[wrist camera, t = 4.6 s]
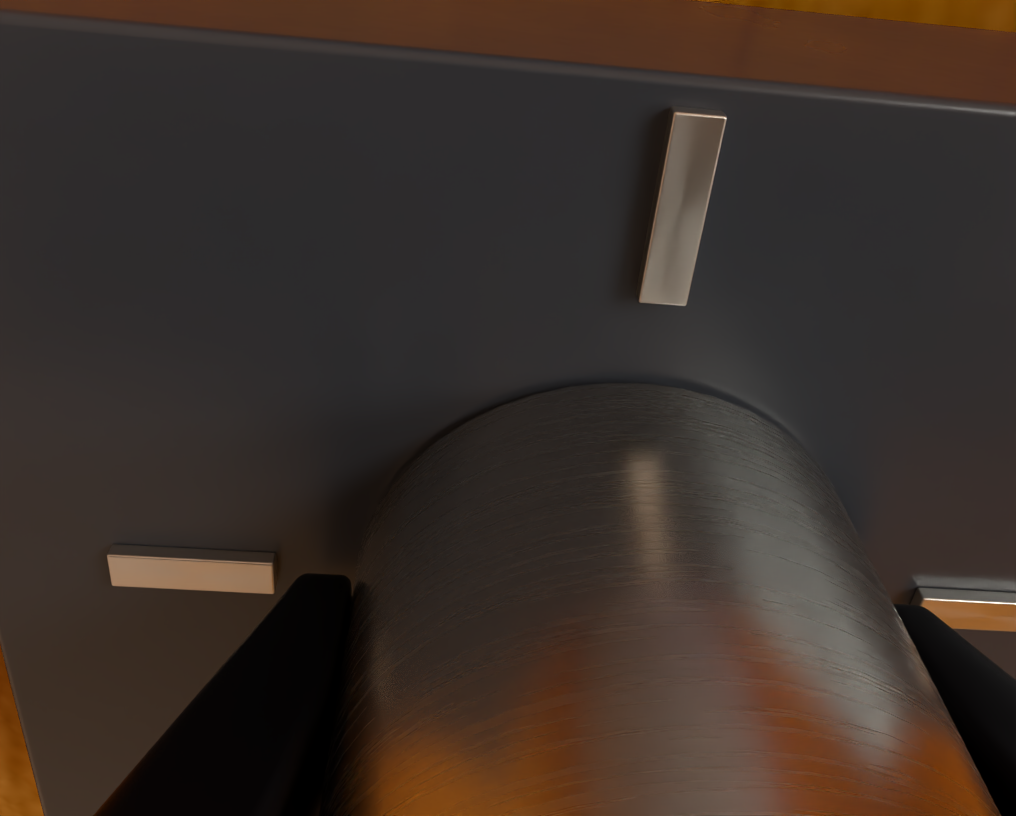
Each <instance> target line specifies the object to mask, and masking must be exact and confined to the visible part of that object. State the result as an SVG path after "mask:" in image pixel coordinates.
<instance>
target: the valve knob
mask: <svg viewBox="0 0 1016 816" xmlns="http://www.w3.org/2000/svg"><path fill="white" fill-rule="evenodd" d="M319 816H1001V814H1000V812H999V810H998V809H997V807H996V805H995V803H994V801H993V799H992V797H991V795H990V793H989V791H988V789H987V787H986V785H985V783H984V781H983V779H982V777H981V775H980V773H979V771H978V769H977V767H976V765H975V763H974V761H973V759H972V757H971V755H970V754H969V752H968V750H967V748H966V746H965V744H964V742H963V740H962V738H961V736H960V734H959V732H958V730H957V728H956V726H955V724H954V722H953V720H952V718H951V716H950V714H949V712H948V710H947V708H946V706H945V704H944V702H943V700H942V698H941V697H940V695H939V693H938V691H937V689H936V687H935V685H934V683H933V681H932V679H931V677H930V675H929V673H928V671H927V669H926V667H925V665H924V663H923V661H922V659H921V657H920V655H919V653H918V651H917V649H916V647H915V645H914V643H913V642H912V640H911V638H910V636H909V634H908V632H907V630H906V628H905V626H904V624H903V622H902V620H901V618H900V616H899V614H898V612H897V610H896V608H895V606H894V604H893V602H892V600H891V598H890V596H889V594H888V592H887V590H886V588H885V586H884V585H883V583H882V581H881V579H880V577H879V575H878V573H877V571H876V569H875V567H874V565H873V563H872V561H871V559H870V557H869V555H868V553H867V551H866V549H865V547H864V545H863V543H862V541H861V539H860V537H859V535H858V533H857V531H856V530H855V528H854V526H853V524H852V522H851V520H850V518H849V516H848V514H847V512H846V510H845V508H844V506H843V504H842V502H841V500H840V498H839V496H838V494H837V492H836V490H835V488H834V486H833V485H832V483H831V482H830V480H829V479H828V477H827V476H826V474H825V473H824V471H823V470H822V469H821V467H820V466H819V464H818V463H817V462H816V461H815V460H814V459H813V458H812V457H811V456H810V455H809V453H808V452H807V451H806V450H805V449H804V448H803V447H802V446H801V445H800V444H799V443H798V442H797V441H795V440H794V439H793V438H791V437H790V436H789V435H787V434H786V433H785V432H783V431H782V430H781V429H779V428H778V427H777V426H775V425H774V424H772V423H771V422H769V421H767V420H765V419H763V418H761V417H760V416H758V415H756V414H754V413H752V412H751V411H749V410H747V409H745V408H743V407H740V406H738V405H735V404H733V403H730V402H727V401H725V400H722V399H720V398H717V397H715V396H712V395H708V394H704V393H700V392H696V391H692V390H688V389H684V388H680V387H672V386H664V385H656V384H648V383H598V384H588V385H578V386H569V387H565V388H560V389H555V390H551V391H546V392H541V393H537V394H533V395H530V396H527V397H524V398H521V399H518V400H515V401H512V402H509V403H506V404H503V405H501V406H498V407H496V408H494V409H492V410H490V411H488V412H486V413H484V414H481V415H479V416H477V417H475V418H473V419H471V420H469V421H467V422H466V423H464V424H462V425H461V426H459V427H458V428H456V429H454V430H453V431H451V432H450V433H448V434H446V435H445V436H443V437H442V438H440V439H439V440H438V441H437V442H435V443H434V444H433V445H432V446H431V447H429V448H428V449H427V450H426V451H424V452H423V453H422V454H421V455H420V456H418V457H417V458H416V459H415V460H414V461H413V462H412V463H411V464H410V465H409V466H408V467H407V469H406V470H405V471H404V472H403V473H402V474H401V475H400V476H399V477H398V478H397V479H396V480H395V481H394V483H393V484H392V485H391V487H390V488H389V490H388V491H387V493H386V494H385V496H384V497H383V499H382V500H381V501H380V503H379V504H378V506H377V508H376V510H375V512H374V514H373V516H372V518H371V520H370V522H369V524H368V527H367V529H366V531H365V534H364V537H363V541H362V544H361V548H360V551H359V555H358V560H357V567H356V574H355V580H354V587H353V594H352V600H351V607H350V613H349V620H348V627H347V633H346V640H345V646H344V653H343V660H342V666H341V673H340V679H339V686H338V693H337V699H336V706H335V712H334V719H333V726H332V732H331V739H330V745H329V752H328V759H327V765H326V772H325V778H324V785H323V792H322V798H321V805H320V811H319Z"/></svg>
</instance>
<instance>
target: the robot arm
mask: <svg viewBox="0 0 1016 816" xmlns="http://www.w3.org/2000/svg"><path fill="white" fill-rule="evenodd" d="M351 600H352V586H351V581H350V579H349V578H348V577H347V576H345V575H335V574H316V573H306V574H303V575H301V576H299V577H298V578H297V579H296V580H295V581H294V582H293V584H292V585H291V586H290V587H289V588H288V589H287V591H286V592H285V593H284V594H283V595H282V596H281V598H280V599H279V600H278V601H277V602H276V603H275V604H274V606H273V607H272V608H271V609H270V610H269V611H268V613H267V614H266V615H265V616H264V617H263V618H262V620H261V621H260V622H259V623H258V624H257V625H256V627H255V628H254V629H253V630H252V631H251V632H250V634H249V635H248V636H247V637H246V638H245V639H244V641H243V642H242V643H241V644H240V645H239V646H238V648H237V649H236V650H235V651H234V652H233V653H232V655H231V656H230V657H229V658H228V659H227V660H226V661H225V663H224V664H223V665H222V666H221V667H220V668H219V670H218V671H217V672H216V673H215V674H214V675H213V677H212V678H211V679H210V680H209V681H208V682H207V684H206V685H205V686H204V687H203V688H202V689H201V691H200V692H199V693H198V694H197V695H196V696H195V698H194V699H193V700H192V701H191V702H190V703H189V705H188V706H187V707H186V708H185V709H184V710H183V712H182V713H181V714H180V715H179V716H178V717H177V718H176V720H175V721H174V722H173V723H172V724H171V725H170V727H169V728H168V729H167V730H166V731H165V732H164V734H163V735H162V736H161V737H160V738H159V739H158V741H157V742H156V743H155V744H154V745H153V746H152V748H151V749H150V750H149V751H148V752H147V753H146V755H145V756H144V757H143V758H142V759H141V760H140V762H139V763H138V764H137V765H136V766H135V767H134V769H133V770H132V771H131V772H130V773H129V774H128V775H127V777H126V778H125V779H124V780H123V781H122V782H121V784H120V785H119V786H118V787H117V788H116V789H115V791H114V792H113V793H112V794H111V795H110V796H109V798H108V799H107V800H106V801H105V802H104V803H103V805H102V806H101V807H100V808H99V809H98V810H97V812H96V813H95V814H94V815H93V816H319V811H320V805H321V798H322V792H323V785H324V778H325V772H326V765H327V759H328V752H329V745H330V739H331V732H332V726H333V719H334V712H335V706H336V699H337V693H338V686H339V679H340V673H341V666H342V660H343V653H344V646H345V640H346V633H347V627H348V620H349V613H350V607H351ZM894 606H895V608H896V610H897V612H898V614H899V616H900V618H901V620H902V622H903V624H904V626H905V628H906V630H907V632H908V634H909V636H910V638H911V640H912V642H913V643H914V645H915V647H916V649H917V651H918V653H919V655H920V657H921V659H922V661H923V663H924V665H925V667H926V669H927V671H928V673H929V675H930V677H931V679H932V681H933V683H934V685H935V687H936V689H937V691H938V693H939V695H940V697H941V698H942V700H943V702H944V704H945V706H946V708H947V710H948V712H949V714H950V716H951V718H952V720H953V722H954V724H955V726H956V728H957V730H958V732H959V734H960V736H961V738H962V740H963V742H964V744H965V746H966V748H967V750H968V752H969V754H970V755H971V757H972V759H973V761H974V763H975V765H976V767H977V769H978V771H979V773H980V775H981V777H982V779H983V781H984V783H985V785H986V787H987V789H988V791H989V793H990V795H991V797H992V799H993V801H994V803H995V805H996V807H997V809H998V810H999V812H1000V814H1001V816H1016V680H1015V679H1014V678H1013V677H1012V676H1010V675H1009V674H1008V673H1007V672H1005V671H1004V670H1003V669H1002V668H1000V667H999V666H998V665H997V664H995V663H994V662H993V661H992V660H991V659H989V658H988V657H987V656H986V655H984V654H983V653H982V652H981V651H979V650H978V649H977V648H976V647H974V646H973V645H972V644H971V643H969V642H968V641H967V640H966V639H964V638H963V637H962V636H961V635H960V634H958V633H957V632H956V631H955V630H953V629H952V628H951V627H950V626H948V625H947V624H946V623H945V622H943V621H942V620H941V619H940V618H938V617H937V616H936V615H935V614H933V613H932V612H931V611H929V610H928V609H926V608H924V607H922V606H918V605H908V604H894Z"/></svg>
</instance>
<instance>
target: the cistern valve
mask: <svg viewBox="0 0 1016 816" xmlns="http://www.w3.org/2000/svg"><path fill="white" fill-rule="evenodd" d="M598 383H648V384H656V385H664V386H672V387H680V388H684V389H688V390H692V391H696V392H700V393H704V394H708V395H712V396H715V397H717V398H720V399H722V400H725V401H727V402H730V403H733V404H735V405H738V406H740V407H743V408H745V409H747V410H749V411H751V412H752V413H754V414H756V415H758V416H760V417H761V418H763V419H765V420H767V421H769V422H771V423H772V424H774V425H775V426H777V427H778V428H779V429H781V430H782V431H783V432H785V433H786V434H787V435H789V436H790V437H791V438H793V439H794V440H795V441H797V442H798V443H799V444H800V445H801V446H802V447H803V448H804V449H805V450H806V451H807V452H808V453H809V455H810V456H811V457H812V458H813V459H814V460H815V461H816V462H817V463H818V464H819V466H820V467H821V469H822V470H823V471H824V473H825V474H826V476H827V477H828V479H829V480H830V482H831V483H832V485H833V486H834V488H835V490H836V492H837V494H838V496H839V498H840V500H841V502H842V504H843V506H844V508H845V510H846V512H847V514H848V516H849V518H850V520H851V522H852V524H853V526H854V528H855V530H856V531H857V533H858V535H859V537H860V539H861V541H862V543H863V545H864V547H865V549H866V551H867V553H868V555H869V557H870V559H871V561H872V563H873V565H874V567H875V569H876V571H877V573H878V575H879V577H880V579H881V581H882V583H883V585H884V586H885V588H886V590H887V592H888V594H889V596H890V598H891V600H892V602H893V604H908V605H918V606H922V607H924V608H926V609H928V610H929V611H931V612H932V613H933V614H935V615H936V616H937V617H938V618H940V619H941V620H942V621H943V622H945V623H946V624H947V625H948V626H950V627H951V628H952V629H953V630H955V631H956V632H957V633H958V634H960V635H961V636H962V637H963V638H964V639H966V640H967V641H968V642H969V643H971V644H972V645H973V646H974V647H976V648H977V649H978V650H979V651H981V652H982V653H983V654H984V655H986V656H987V657H988V658H989V659H991V660H992V661H993V662H994V663H995V664H997V665H998V666H999V667H1000V668H1002V669H1003V670H1004V671H1005V672H1007V673H1008V674H1009V675H1010V676H1012V677H1013V678H1014V679H1015V680H1016V33H1014V32H1004V31H994V30H984V29H973V28H963V27H953V26H943V25H933V24H923V23H913V22H903V21H893V20H883V19H873V18H863V17H853V16H843V15H833V14H822V13H812V12H802V11H792V10H782V9H772V8H762V7H752V6H742V5H732V4H722V3H712V2H702V1H692V0H0V646H1V649H2V653H3V657H4V661H5V665H6V669H7V673H8V677H9V681H10V684H11V688H12V692H13V696H14V700H15V704H16V708H17V712H18V716H19V719H20V723H21V727H22V731H23V735H24V739H25V743H26V747H27V751H28V754H29V758H30V762H31V766H32V770H33V774H34V778H35V782H36V786H37V789H38V793H39V797H40V801H41V805H42V809H43V813H44V816H93V815H94V814H95V813H96V812H97V810H98V809H99V808H100V807H101V806H102V805H103V803H104V802H105V801H106V800H107V799H108V798H109V796H110V795H111V794H112V793H113V792H114V791H115V789H116V788H117V787H118V786H119V785H120V784H121V782H122V781H123V780H124V779H125V778H126V777H127V775H128V774H129V773H130V772H131V771H132V770H133V769H134V767H135V766H136V765H137V764H138V763H139V762H140V760H141V759H142V758H143V757H144V756H145V755H146V753H147V752H148V751H149V750H150V749H151V748H152V746H153V745H154V744H155V743H156V742H157V741H158V739H159V738H160V737H161V736H162V735H163V734H164V732H165V731H166V730H167V729H168V728H169V727H170V725H171V724H172V723H173V722H174V721H175V720H176V718H177V717H178V716H179V715H180V714H181V713H182V712H183V710H184V709H185V708H186V707H187V706H188V705H189V703H190V702H191V701H192V700H193V699H194V698H195V696H196V695H197V694H198V693H199V692H200V691H201V689H202V688H203V687H204V686H205V685H206V684H207V682H208V681H209V680H210V679H211V678H212V677H213V675H214V674H215V673H216V672H217V671H218V670H219V668H220V667H221V666H222V665H223V664H224V663H225V661H226V660H227V659H228V658H229V657H230V656H231V655H232V653H233V652H234V651H235V650H236V649H237V648H238V646H239V645H240V644H241V643H242V642H243V641H244V639H245V638H246V637H247V636H248V635H249V634H250V632H251V631H252V630H253V629H254V628H255V627H256V625H257V624H258V623H259V622H260V621H261V620H262V618H263V617H264V616H265V615H266V614H267V613H268V611H269V610H270V609H271V608H272V607H273V606H274V604H275V603H276V602H277V601H278V600H279V599H280V598H281V596H282V595H283V594H284V593H285V592H286V591H287V589H288V588H289V587H290V586H291V585H292V584H293V582H294V581H295V580H296V579H297V578H298V577H299V576H301V575H303V574H306V573H316V574H335V575H345V576H347V577H348V578H349V579H350V581H351V586H352V594H353V587H354V580H355V574H356V567H357V560H358V555H359V551H360V548H361V544H362V541H363V537H364V534H365V531H366V529H367V527H368V524H369V522H370V520H371V518H372V516H373V514H374V512H375V510H376V508H377V506H378V504H379V503H380V501H381V500H382V499H383V497H384V496H385V494H386V493H387V491H388V490H389V488H390V487H391V485H392V484H393V483H394V481H395V480H396V479H397V478H398V477H399V476H400V475H401V474H402V473H403V472H404V471H405V470H406V469H407V467H408V466H409V465H410V464H411V463H412V462H413V461H414V460H415V459H416V458H417V457H418V456H420V455H421V454H422V453H423V452H424V451H426V450H427V449H428V448H429V447H431V446H432V445H433V444H434V443H435V442H437V441H438V440H439V439H440V438H442V437H443V436H445V435H446V434H448V433H450V432H451V431H453V430H454V429H456V428H458V427H459V426H461V425H462V424H464V423H466V422H467V421H469V420H471V419H473V418H475V417H477V416H479V415H481V414H484V413H486V412H488V411H490V410H492V409H494V408H496V407H498V406H501V405H503V404H506V403H509V402H512V401H515V400H518V399H521V398H524V397H527V396H530V395H533V394H537V393H541V392H546V391H551V390H555V389H560V388H565V387H569V386H578V385H588V384H598Z"/></svg>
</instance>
